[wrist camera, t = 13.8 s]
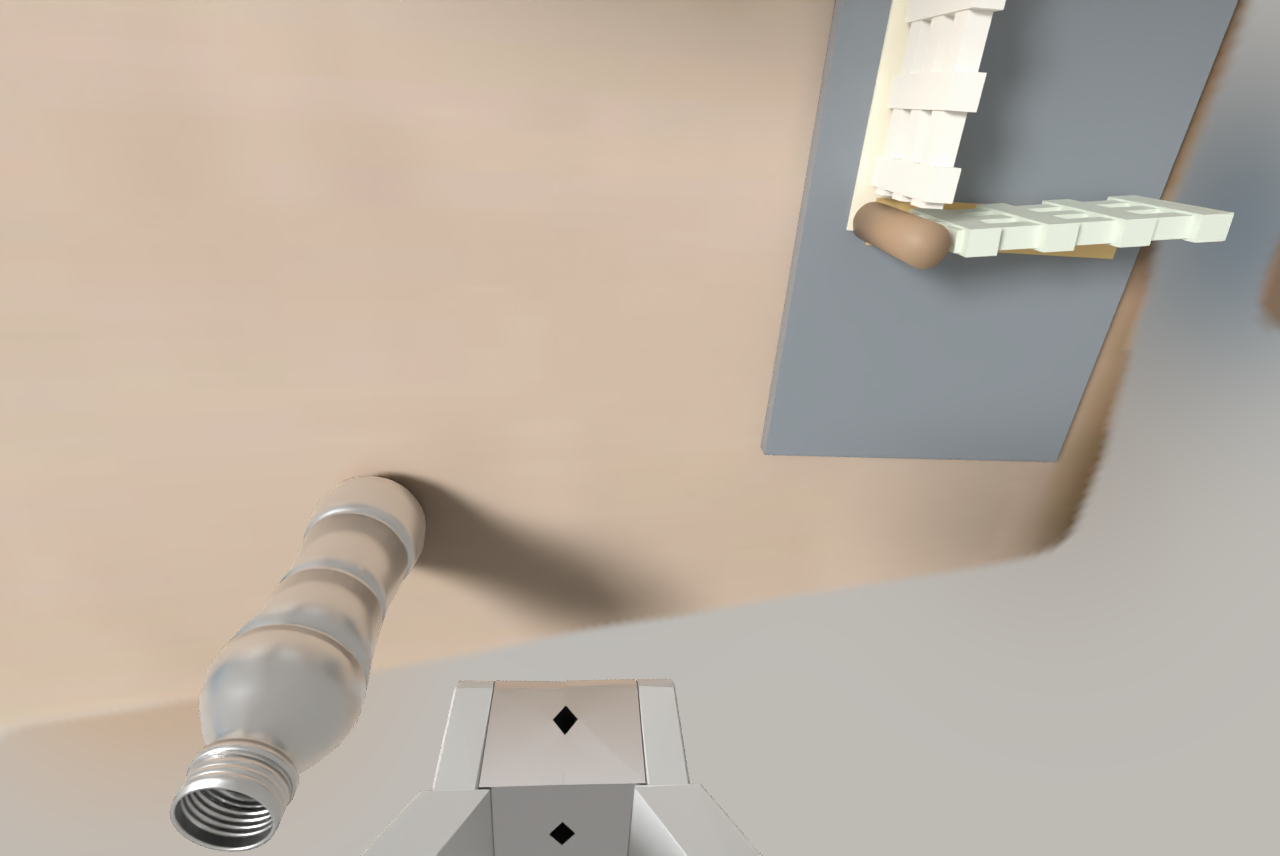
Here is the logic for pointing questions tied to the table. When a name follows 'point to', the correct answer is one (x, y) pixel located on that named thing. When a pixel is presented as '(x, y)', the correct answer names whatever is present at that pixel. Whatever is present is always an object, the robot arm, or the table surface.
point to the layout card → (991, 173)
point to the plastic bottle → (298, 665)
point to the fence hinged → (1076, 224)
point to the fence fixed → (927, 127)
